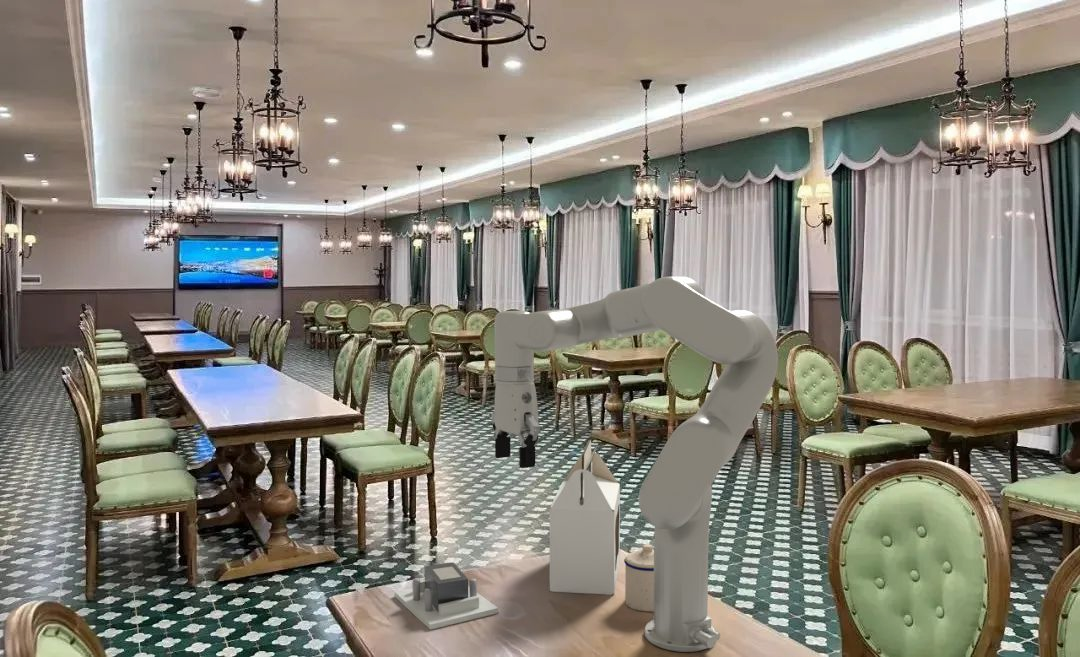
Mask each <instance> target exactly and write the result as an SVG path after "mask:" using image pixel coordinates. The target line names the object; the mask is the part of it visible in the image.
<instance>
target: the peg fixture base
mask: <svg viewBox="0 0 1080 657" xmlns="http://www.w3.org/2000/svg"><path fill="white" fill-rule="evenodd" d="M459 569H460V568H459ZM460 570H461V572H462V573H463V574H464V569H460ZM477 583H478V582H477V578H470V579H468V584H469V585H468V598H465V599H461V600H456V601H452V602H448V603H443V604H439V605H438V606H439V612H438V611H437V610H436V609H435V607H434V606H433V604H432V589H431V588H427V589H425V579H421V578H419V577H415V578H413V579H412V584H411V588H405V589H401V590H396V591H394V598H396V600H398V601H399V603H401V604H402V605H403V606H404V607H405V608H406V609H408V611H410V612H411V613H412V615H414V616H415V618H417V619H418V620H419V621H420V622H421V623H422V624H423V625H425V627H427V629H429V630H430V631H431V630H435V629H439V628H444V627H448V626H451V625H454V624H455V625H456V624H459V623H464V622H467V621H471V620H475V619H480V618H483V617H488V616H492V615H496V614H498V613H499V608H498V607H497V606H496V605H495V604H493V603H492V602H490V601H489V600H488V599H487V598H485V597H484V596H482V595H481V594H480V593H478V592H477V591H478V588H477V587H478V586H477V585H478V584H477Z"/></svg>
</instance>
